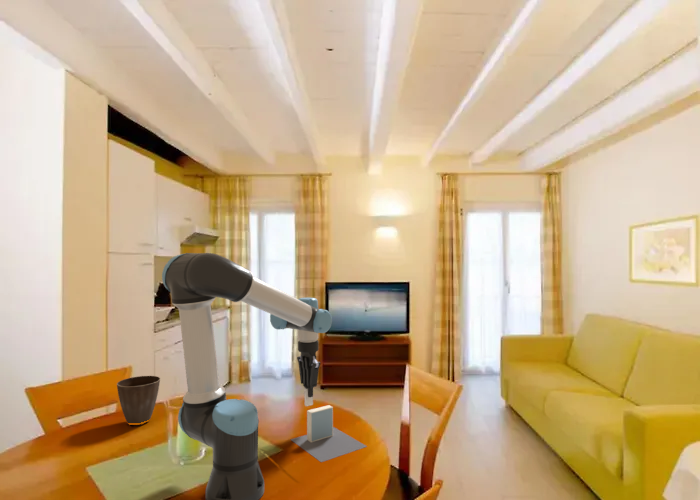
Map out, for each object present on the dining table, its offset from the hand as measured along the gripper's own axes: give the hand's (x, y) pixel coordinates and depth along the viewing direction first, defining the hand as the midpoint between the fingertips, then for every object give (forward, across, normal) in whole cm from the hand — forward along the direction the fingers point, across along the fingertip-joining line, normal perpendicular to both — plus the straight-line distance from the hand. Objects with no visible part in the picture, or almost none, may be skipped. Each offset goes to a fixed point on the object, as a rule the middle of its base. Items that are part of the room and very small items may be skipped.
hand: (308, 404), depth 151 cm
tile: (+9, -8, 0) cm, 12 cm away
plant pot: (+9, +46, +49) cm, 68 cm away
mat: (+10, -13, 0) cm, 16 cm away
